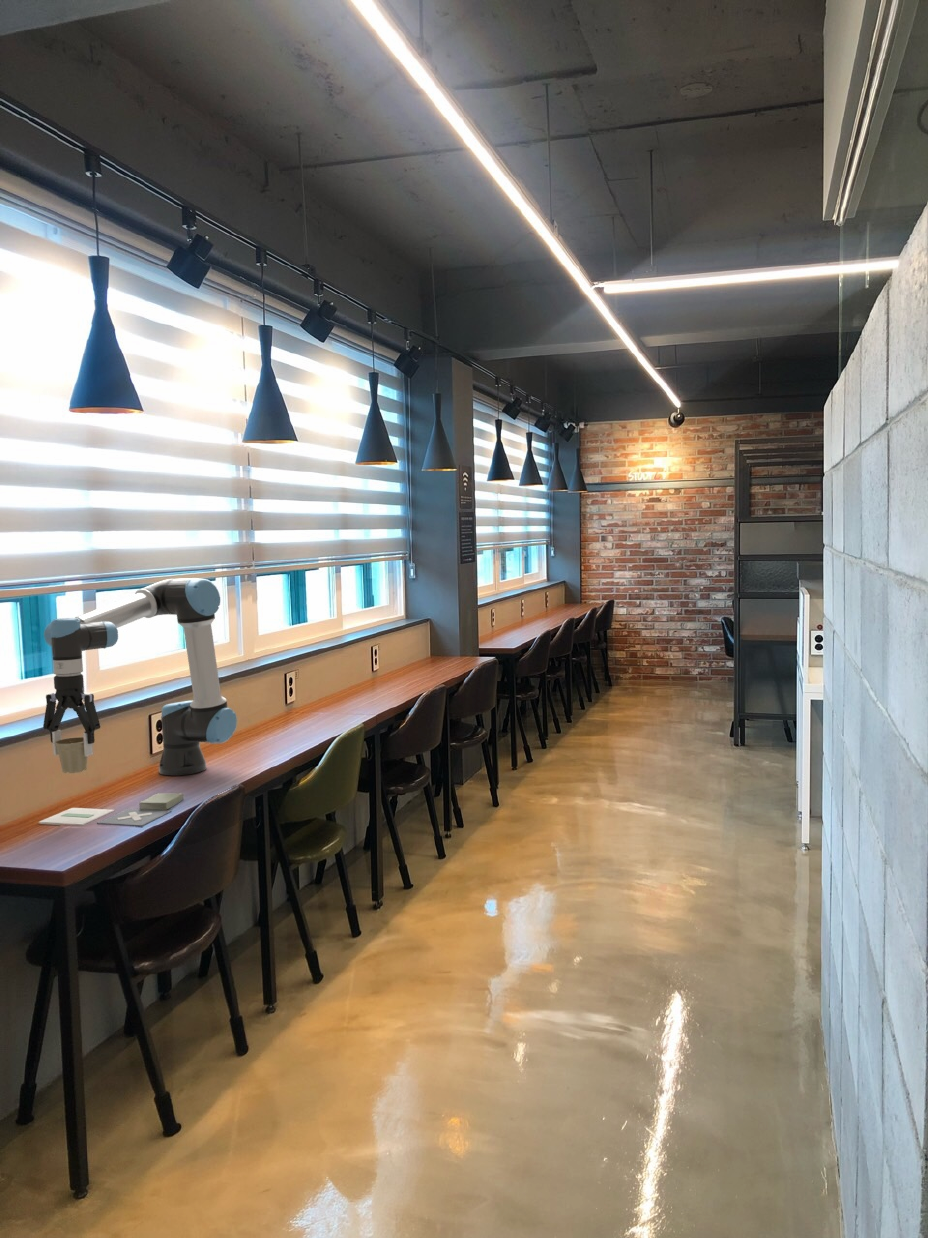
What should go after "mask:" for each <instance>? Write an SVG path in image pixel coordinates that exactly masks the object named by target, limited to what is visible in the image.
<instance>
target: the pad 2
mask: <svg viewBox="0 0 928 1238" xmlns="http://www.w3.org/2000/svg"><path fill="white" fill-rule="evenodd" d="M172 812H173V811H172V810H169V809H167V810H140V809H139V808H131V807H130V808H129V807H128V808H126V809H124V810H122V811H120V812H118V813H115V814H113V815H111V816H109V817H107V818H105V819H102V820H100V821H98V822H96V824H97V825H106V826H107V825H109V826H111V825H112V826H129V827H140V828H143V827H144V826H146V825H148V824H151V823H153V822H154V821H156V820H158V819H160V818H163V817H164V816H167V815H168V814H171V813H172Z"/></svg>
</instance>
